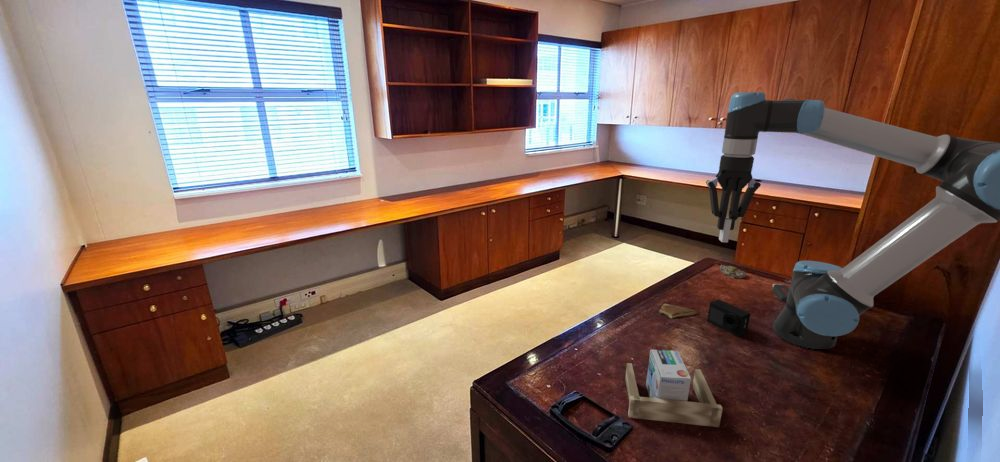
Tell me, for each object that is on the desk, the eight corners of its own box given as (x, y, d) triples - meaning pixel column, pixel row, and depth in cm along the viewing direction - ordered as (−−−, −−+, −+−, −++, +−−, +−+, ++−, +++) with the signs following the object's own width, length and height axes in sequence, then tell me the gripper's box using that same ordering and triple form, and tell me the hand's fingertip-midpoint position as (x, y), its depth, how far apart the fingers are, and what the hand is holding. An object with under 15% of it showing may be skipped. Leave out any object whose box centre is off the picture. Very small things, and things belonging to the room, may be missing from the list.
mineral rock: (752, 271, 159) (740, 270, 156) (749, 282, 160) (736, 280, 156) (728, 263, 169) (715, 261, 165) (724, 272, 170) (712, 271, 166)
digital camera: (704, 322, 129) (707, 302, 127) (714, 317, 131) (718, 298, 129) (735, 338, 120) (739, 317, 118) (746, 333, 122) (750, 312, 120)
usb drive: (779, 303, 140) (781, 296, 139) (768, 288, 151) (770, 281, 150) (797, 305, 139) (799, 298, 138) (784, 290, 150) (786, 283, 149)
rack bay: (700, 386, 100) (703, 369, 99) (719, 427, 88) (722, 408, 87) (622, 379, 104) (623, 362, 102) (628, 417, 91) (630, 399, 90)
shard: (697, 315, 134) (698, 310, 133) (693, 325, 128) (694, 320, 127) (663, 306, 140) (664, 301, 139) (658, 316, 134) (658, 311, 133)
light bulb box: (645, 384, 101) (649, 348, 98) (672, 386, 101) (678, 349, 97) (655, 416, 91) (660, 377, 88) (686, 419, 91) (692, 379, 87)
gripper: (758, 153, 107) (743, 237, 114) (706, 152, 109) (694, 235, 116) (771, 157, 100) (754, 246, 107) (715, 156, 102) (702, 244, 109)
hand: (723, 240), depth 112 cm, fingers closed
